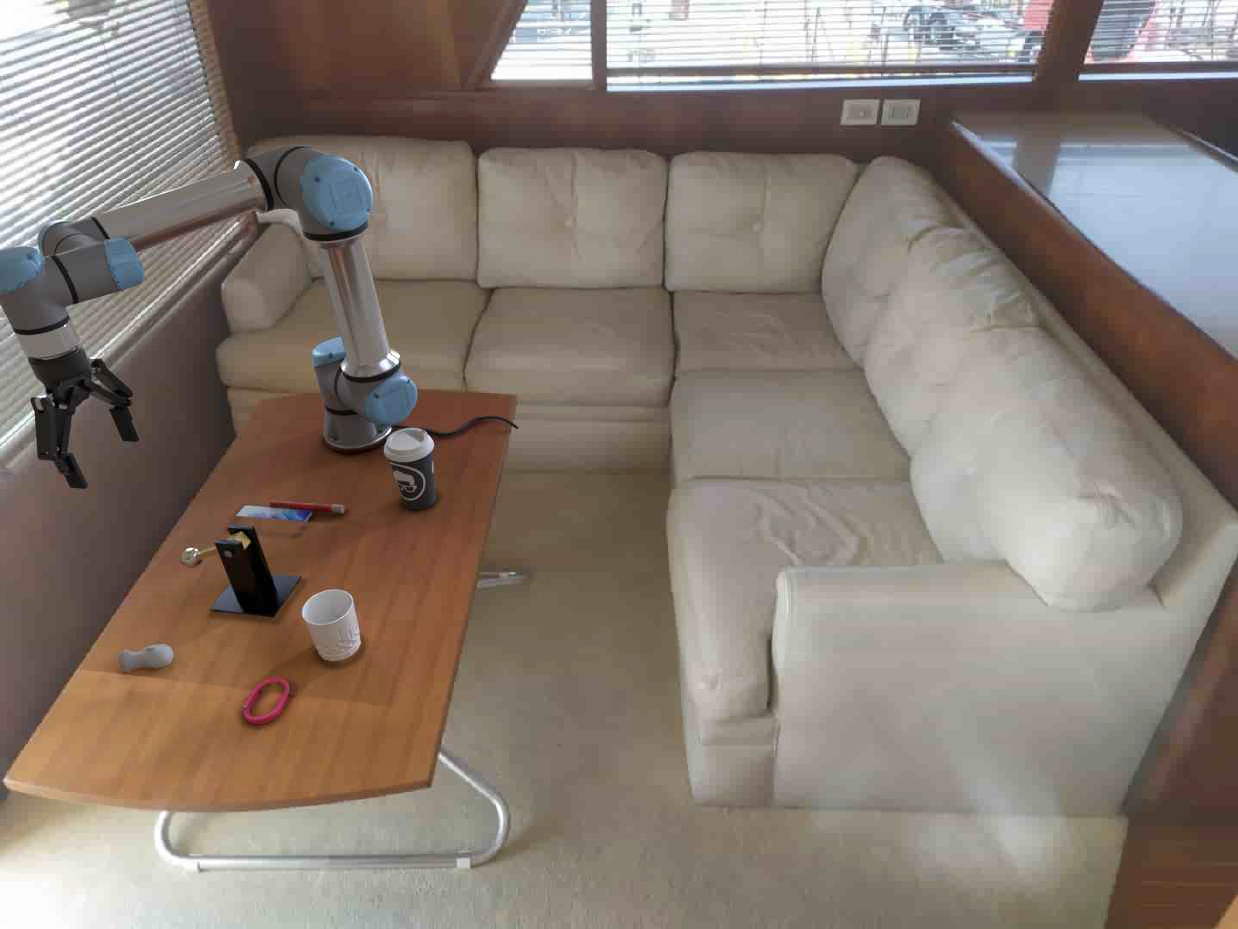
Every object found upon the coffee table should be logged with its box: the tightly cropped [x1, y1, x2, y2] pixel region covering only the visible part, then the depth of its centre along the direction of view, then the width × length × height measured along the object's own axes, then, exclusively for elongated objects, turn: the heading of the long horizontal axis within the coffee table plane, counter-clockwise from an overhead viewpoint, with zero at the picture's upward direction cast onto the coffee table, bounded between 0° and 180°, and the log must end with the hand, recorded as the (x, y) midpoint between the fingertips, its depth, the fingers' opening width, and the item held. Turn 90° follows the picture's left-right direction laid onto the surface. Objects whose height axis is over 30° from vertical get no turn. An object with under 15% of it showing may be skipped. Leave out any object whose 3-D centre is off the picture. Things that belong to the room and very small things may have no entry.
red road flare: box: [269, 499, 345, 514], centre depth 171 cm, size 2×15×2 cm, turn 82°
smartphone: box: [234, 504, 313, 523], centre depth 168 cm, size 7×1×15 cm
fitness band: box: [242, 677, 292, 725], centre depth 132 cm, size 8×6×2 cm
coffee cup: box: [383, 428, 437, 511], centre depth 169 cm, size 10×10×15 cm
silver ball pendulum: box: [180, 531, 251, 569], centre depth 146 cm, size 14×4×4 cm, turn 79°
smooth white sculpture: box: [118, 643, 175, 674], centre depth 138 cm, size 4×8×5 cm
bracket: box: [209, 523, 302, 618], centre depth 147 cm, size 12×10×15 cm
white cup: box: [301, 588, 362, 662], centre depth 138 cm, size 8×8×10 cm
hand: (106, 463), depth 143 cm, fingers open, 13 cm apart
